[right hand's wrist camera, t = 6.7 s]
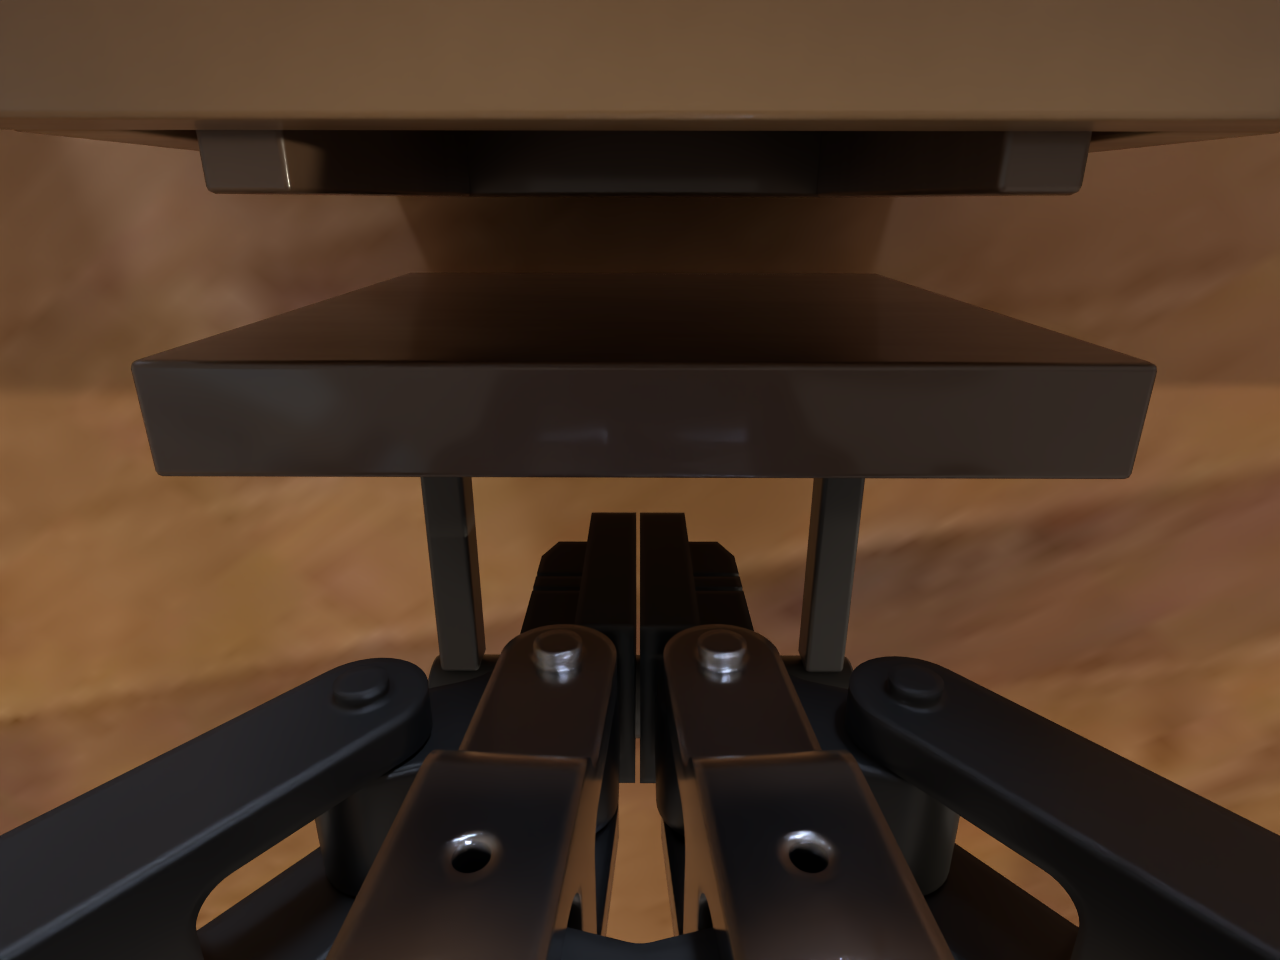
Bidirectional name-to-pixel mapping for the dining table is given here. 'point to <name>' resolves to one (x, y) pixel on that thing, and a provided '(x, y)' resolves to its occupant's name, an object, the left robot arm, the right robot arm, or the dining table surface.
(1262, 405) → the dining table surface
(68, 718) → the dining table surface
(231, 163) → the drawer
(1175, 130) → the cabinet
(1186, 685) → the dining table surface
